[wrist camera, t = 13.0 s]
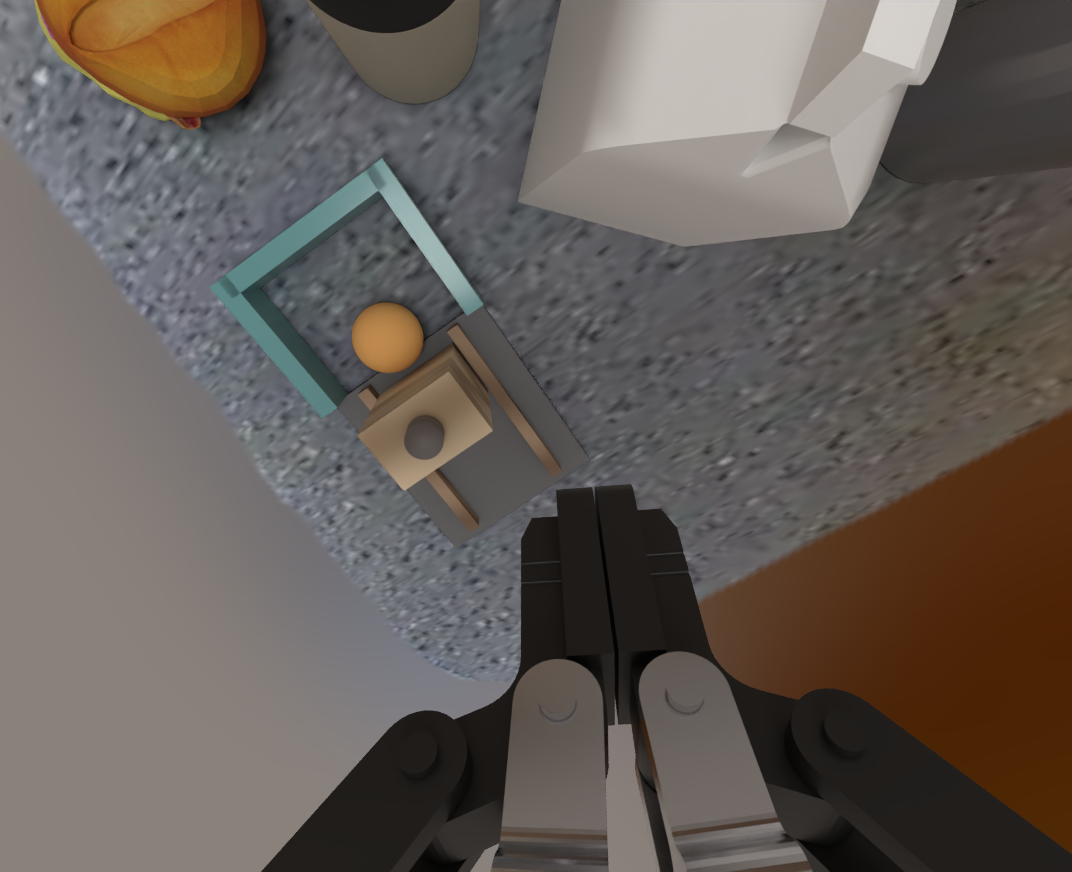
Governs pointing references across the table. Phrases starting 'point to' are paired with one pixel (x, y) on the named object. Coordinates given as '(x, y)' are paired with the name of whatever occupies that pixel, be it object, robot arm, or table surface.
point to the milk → (723, 112)
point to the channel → (509, 407)
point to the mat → (501, 456)
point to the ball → (387, 337)
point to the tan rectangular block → (428, 417)
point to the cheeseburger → (162, 51)
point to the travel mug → (404, 43)
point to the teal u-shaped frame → (334, 213)
